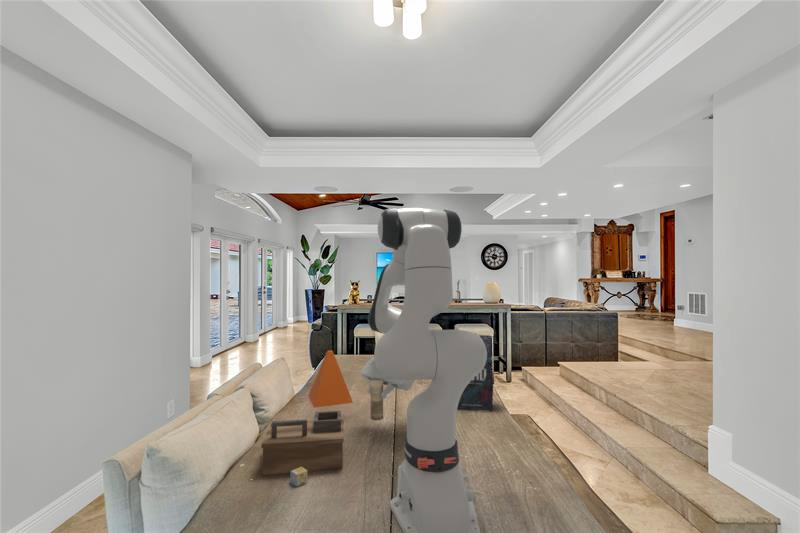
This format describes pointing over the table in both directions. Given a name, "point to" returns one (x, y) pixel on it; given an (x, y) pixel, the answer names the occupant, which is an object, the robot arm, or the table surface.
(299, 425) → the toolbox
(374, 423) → the table surface
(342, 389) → the pyramid
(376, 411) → the dowel key
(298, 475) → the alphabet block
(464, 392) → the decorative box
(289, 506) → the table surface
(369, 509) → the table surface
